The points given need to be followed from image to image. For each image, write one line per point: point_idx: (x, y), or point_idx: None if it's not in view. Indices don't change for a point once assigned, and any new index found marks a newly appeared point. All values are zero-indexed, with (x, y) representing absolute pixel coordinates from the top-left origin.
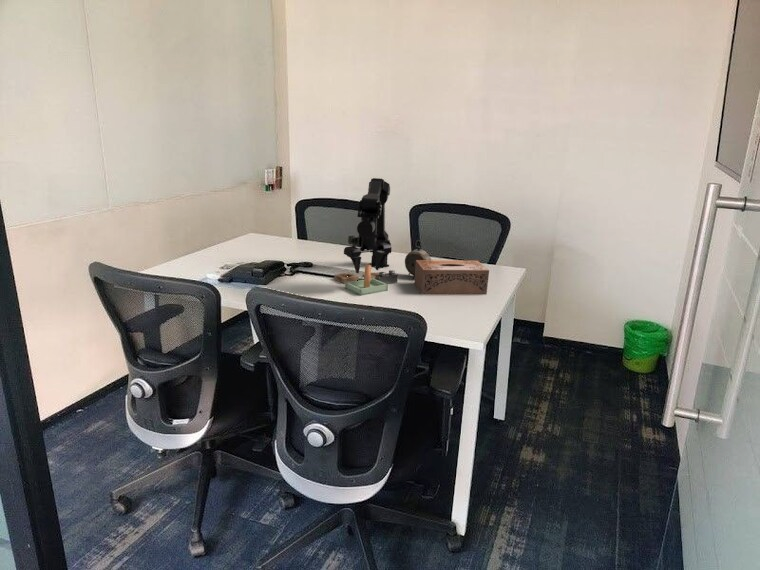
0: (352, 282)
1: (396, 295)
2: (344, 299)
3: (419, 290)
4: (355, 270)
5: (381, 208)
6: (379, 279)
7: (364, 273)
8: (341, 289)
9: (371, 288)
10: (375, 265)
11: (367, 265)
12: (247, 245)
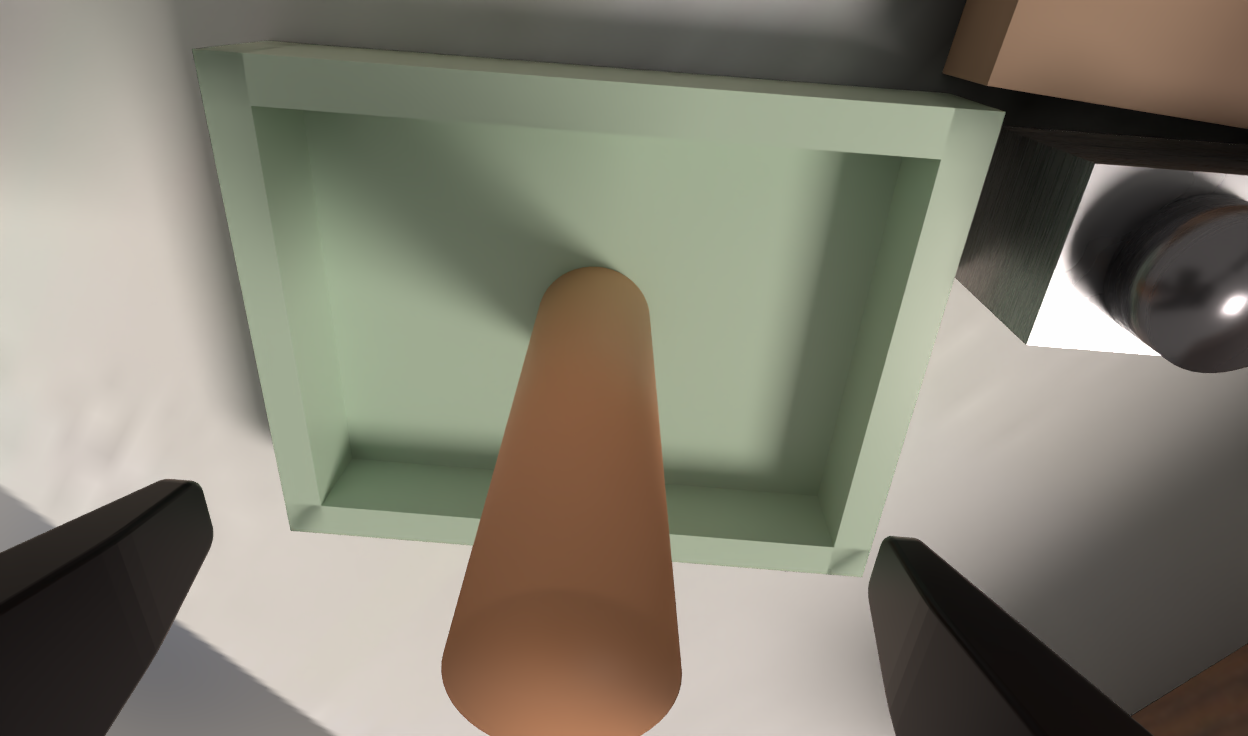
0: (370, 113)
1: (767, 671)
2: (53, 466)
3: (1158, 706)
4: (100, 509)
5: None
6: (1004, 308)
7: (508, 437)
8: (172, 42)
9: None
10: (935, 622)
11: (505, 697)
12: None
